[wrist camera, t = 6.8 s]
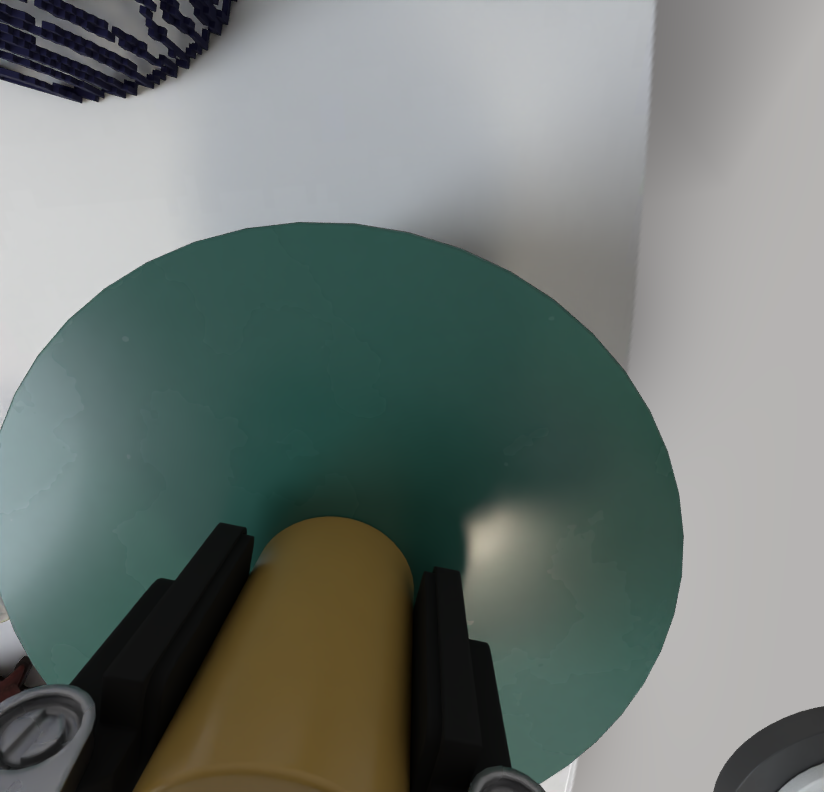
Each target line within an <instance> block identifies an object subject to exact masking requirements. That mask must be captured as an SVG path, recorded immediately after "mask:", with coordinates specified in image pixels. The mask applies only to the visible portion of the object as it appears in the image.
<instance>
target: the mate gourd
mask: <svg viewBox="0 0 824 792" xmlns="http://www.w3.org/2000/svg"><path fill="white" fill-rule="evenodd" d="M32 665H33V664H32V662H31V661H30V659H29V657H27V656H24V657H23V658H22V659H20V661H19V662H18V664H17V665H16V667H15V669H14V672H13V673H11V674H10V675H9V676H8V677H7V678H5V677H2V676H0V703H1V702H3V701H4V700H5V699H7V698H9V697H11V696H14V695H16V694H18V693H20V692H22V691H24V690H27V689H29V688H27V687H25V686H24V681H25V679H26V677H27V675H28V673H29V671H30V669H31V667H32Z"/></svg>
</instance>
